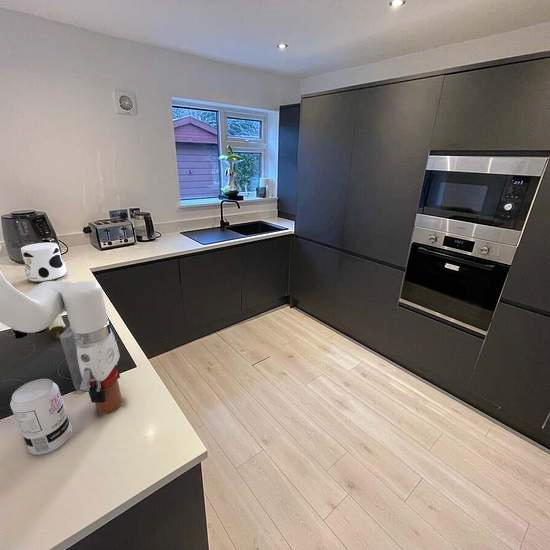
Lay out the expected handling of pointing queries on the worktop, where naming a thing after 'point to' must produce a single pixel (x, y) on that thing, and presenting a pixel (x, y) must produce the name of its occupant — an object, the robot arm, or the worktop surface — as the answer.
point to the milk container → (43, 262)
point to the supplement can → (41, 415)
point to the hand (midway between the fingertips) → (106, 389)
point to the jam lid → (108, 379)
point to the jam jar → (110, 399)
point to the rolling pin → (56, 327)
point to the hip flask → (71, 356)
